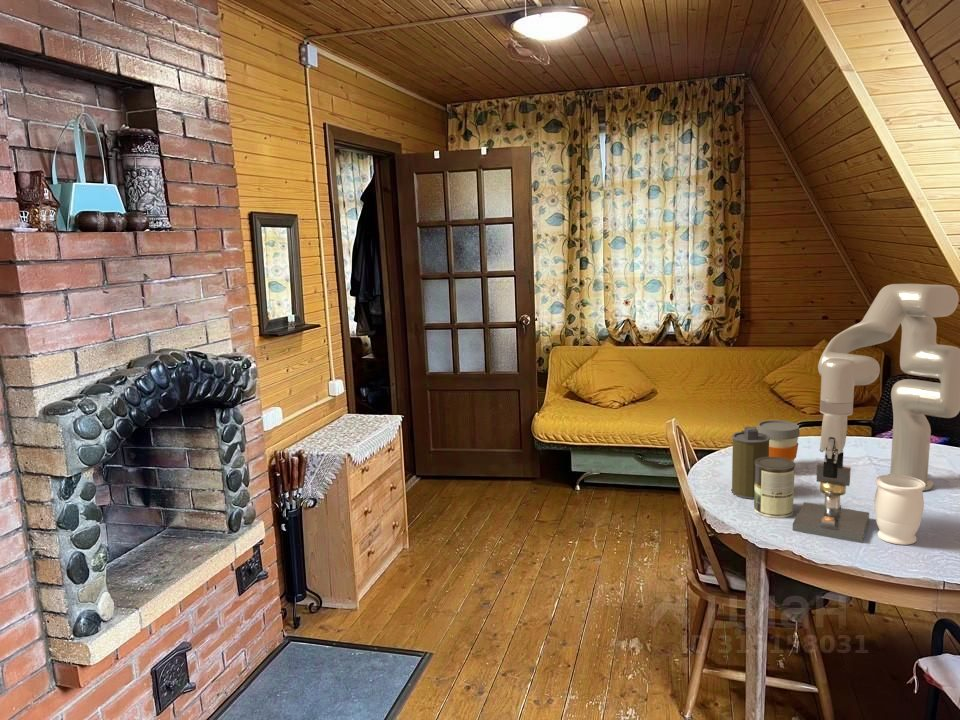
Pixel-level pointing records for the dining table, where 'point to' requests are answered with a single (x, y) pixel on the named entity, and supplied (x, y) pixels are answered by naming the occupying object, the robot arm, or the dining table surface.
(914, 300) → the robot arm
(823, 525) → the lever latch plate
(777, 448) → the reusable coffee cup
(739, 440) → the canister
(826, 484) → the latch lever
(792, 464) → the coffee can
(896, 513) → the jar
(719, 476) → the dining table surface
